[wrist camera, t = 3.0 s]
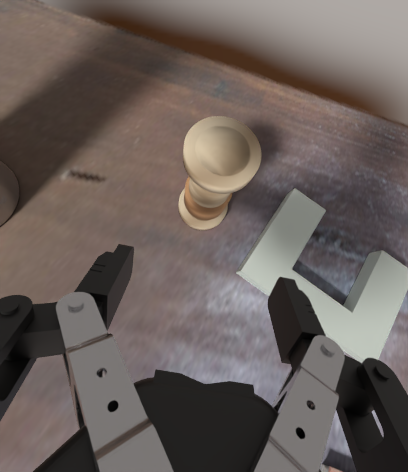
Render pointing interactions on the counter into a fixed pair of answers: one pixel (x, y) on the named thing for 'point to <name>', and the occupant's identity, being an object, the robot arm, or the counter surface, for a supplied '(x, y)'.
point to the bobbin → (216, 169)
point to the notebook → (329, 469)
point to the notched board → (327, 309)
